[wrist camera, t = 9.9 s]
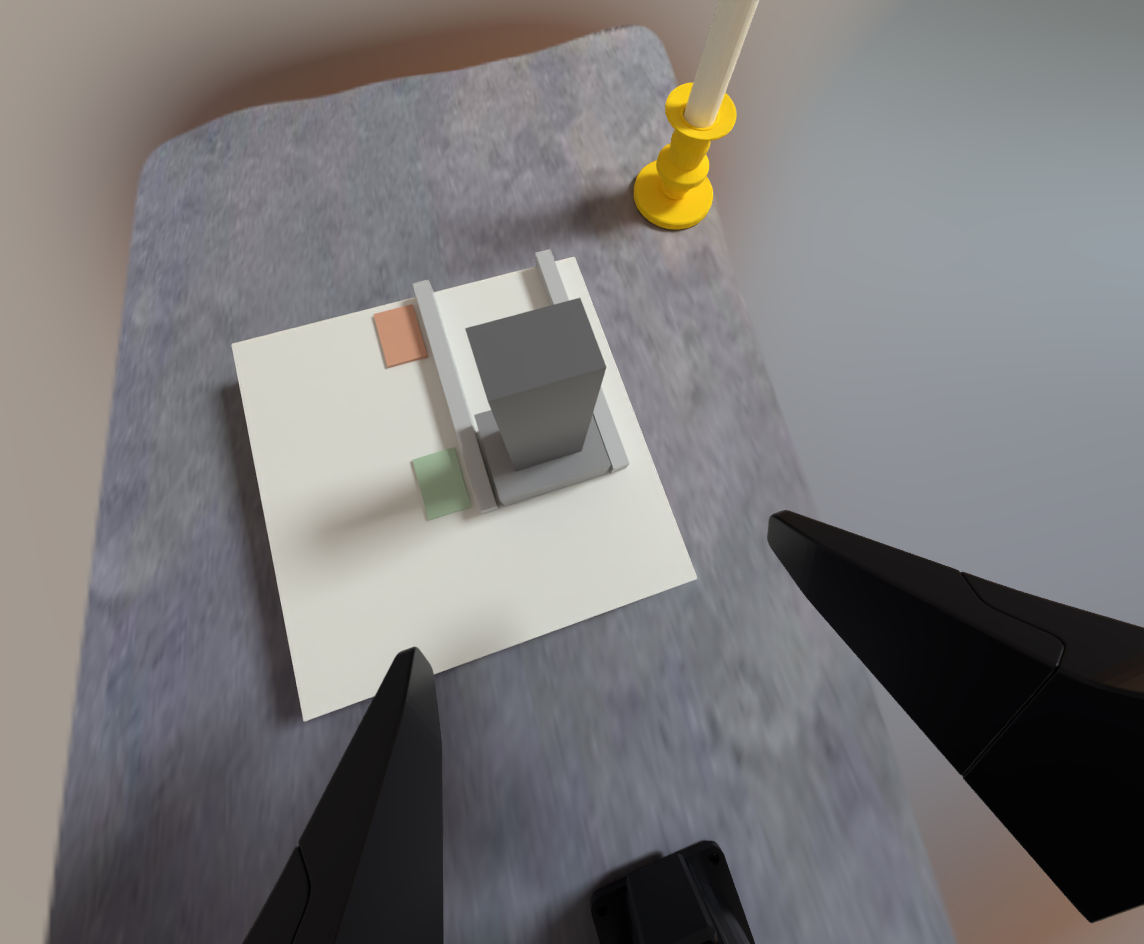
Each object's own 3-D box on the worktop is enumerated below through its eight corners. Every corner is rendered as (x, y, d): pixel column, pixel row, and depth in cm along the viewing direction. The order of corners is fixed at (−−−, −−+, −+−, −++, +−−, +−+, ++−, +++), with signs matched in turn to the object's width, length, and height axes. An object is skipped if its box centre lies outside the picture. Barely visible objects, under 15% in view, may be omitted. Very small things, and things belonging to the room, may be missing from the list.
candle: (726, 206, 27) (951, -244, 12) (666, 244, 26) (827, -189, 11) (676, 152, 28) (828, -337, 13) (617, 188, 27) (704, -292, 12)
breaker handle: (604, 474, 20) (658, 392, 10) (505, 506, 19) (457, 452, 9) (578, 400, 20) (604, 255, 11) (481, 429, 20) (414, 303, 10)
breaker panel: (677, 575, 22) (705, 579, 18) (340, 697, 20) (288, 731, 16) (571, 291, 25) (575, 242, 21) (272, 371, 23) (215, 333, 19)
